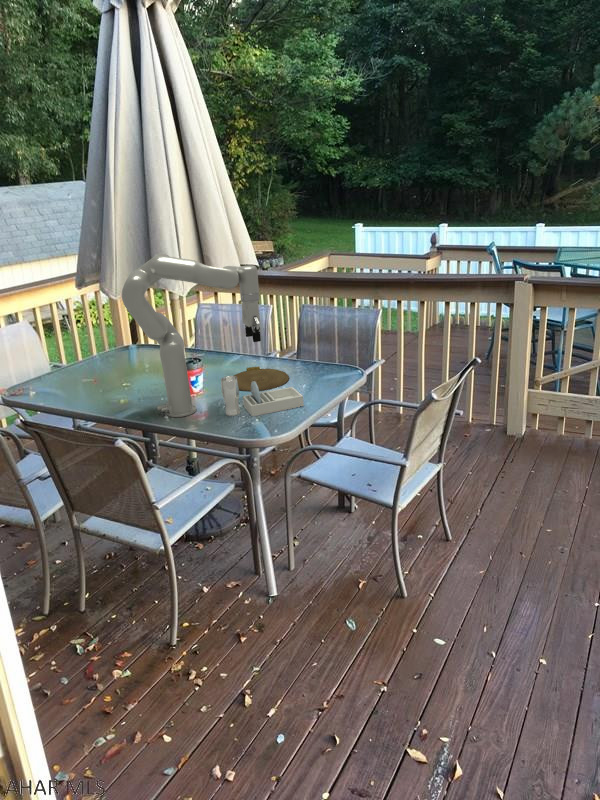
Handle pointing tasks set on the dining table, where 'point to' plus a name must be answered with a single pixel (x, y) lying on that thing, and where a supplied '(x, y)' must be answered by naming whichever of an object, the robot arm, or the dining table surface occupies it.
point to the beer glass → (231, 395)
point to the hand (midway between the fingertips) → (253, 338)
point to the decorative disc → (261, 378)
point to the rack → (271, 400)
